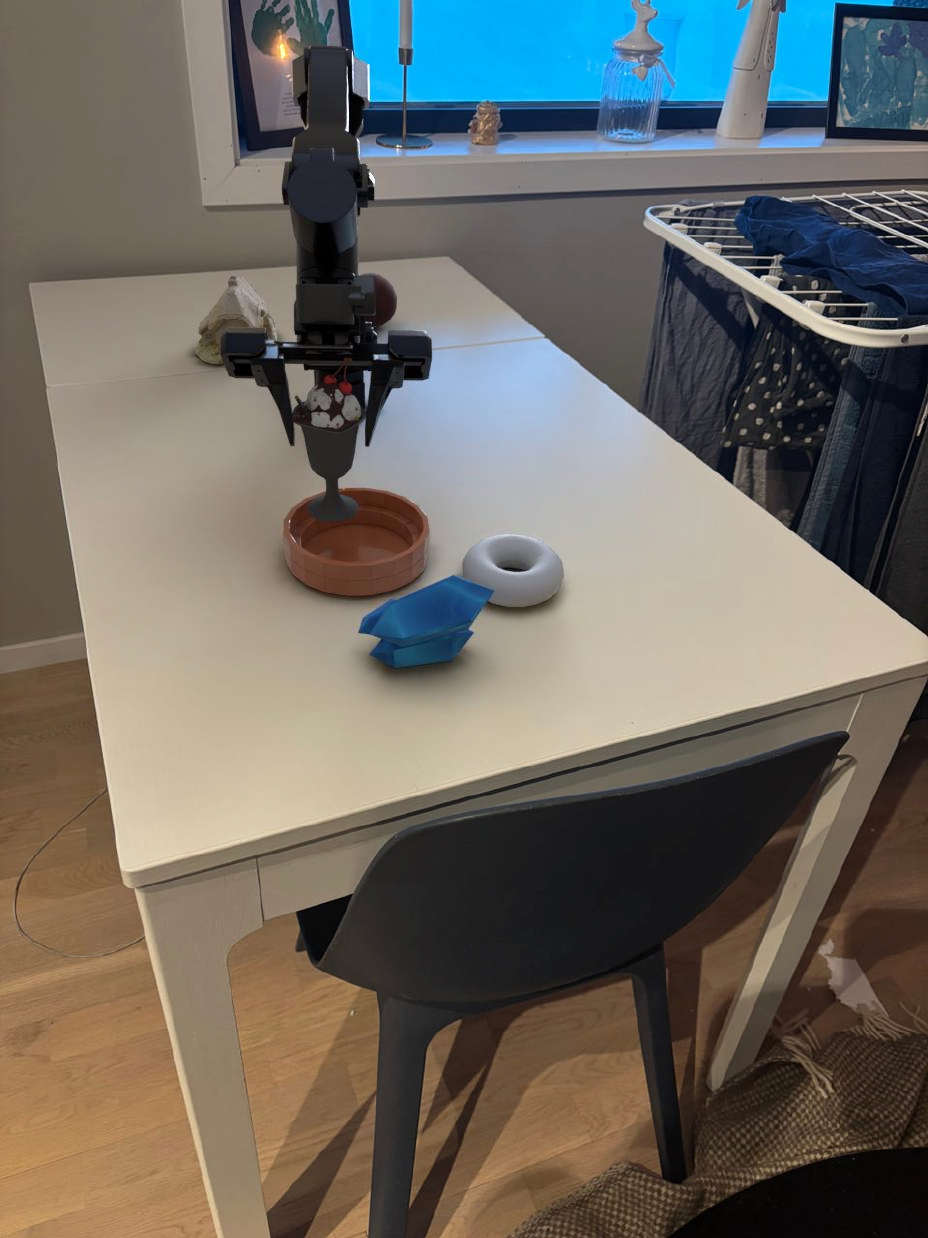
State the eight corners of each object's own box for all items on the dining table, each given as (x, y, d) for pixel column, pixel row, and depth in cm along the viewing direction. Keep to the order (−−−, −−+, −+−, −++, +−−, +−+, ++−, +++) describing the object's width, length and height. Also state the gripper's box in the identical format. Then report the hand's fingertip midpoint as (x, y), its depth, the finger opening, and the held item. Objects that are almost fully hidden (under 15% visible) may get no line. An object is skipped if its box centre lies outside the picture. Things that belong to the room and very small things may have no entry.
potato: (337, 332, 141) (336, 280, 136) (353, 311, 148) (352, 261, 144) (389, 338, 140) (390, 286, 136) (403, 317, 148) (404, 267, 143)
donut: (443, 569, 94) (491, 624, 87) (444, 540, 92) (493, 594, 85) (529, 548, 98) (581, 599, 91) (532, 519, 95) (586, 569, 88)
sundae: (379, 501, 92) (379, 355, 83) (346, 534, 87) (342, 384, 78) (321, 484, 94) (314, 340, 85) (285, 516, 89) (274, 367, 80)
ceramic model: (270, 369, 129) (264, 296, 123) (188, 364, 129) (179, 291, 123) (286, 331, 140) (282, 263, 134) (212, 326, 140) (204, 258, 134)
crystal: (339, 581, 79) (472, 536, 81) (364, 653, 85) (486, 610, 87) (359, 634, 74) (501, 585, 75) (384, 707, 79) (515, 660, 81)
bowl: (258, 551, 94) (254, 517, 92) (368, 506, 102) (368, 473, 100) (344, 618, 86) (342, 583, 84) (456, 564, 94) (458, 530, 92)
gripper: (210, 233, 78) (209, 415, 76) (434, 239, 80) (438, 417, 78) (229, 294, 89) (229, 454, 87) (426, 298, 91) (429, 455, 89)
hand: (329, 445), depth 85 cm, fingers closed on sundae, 6 cm apart
